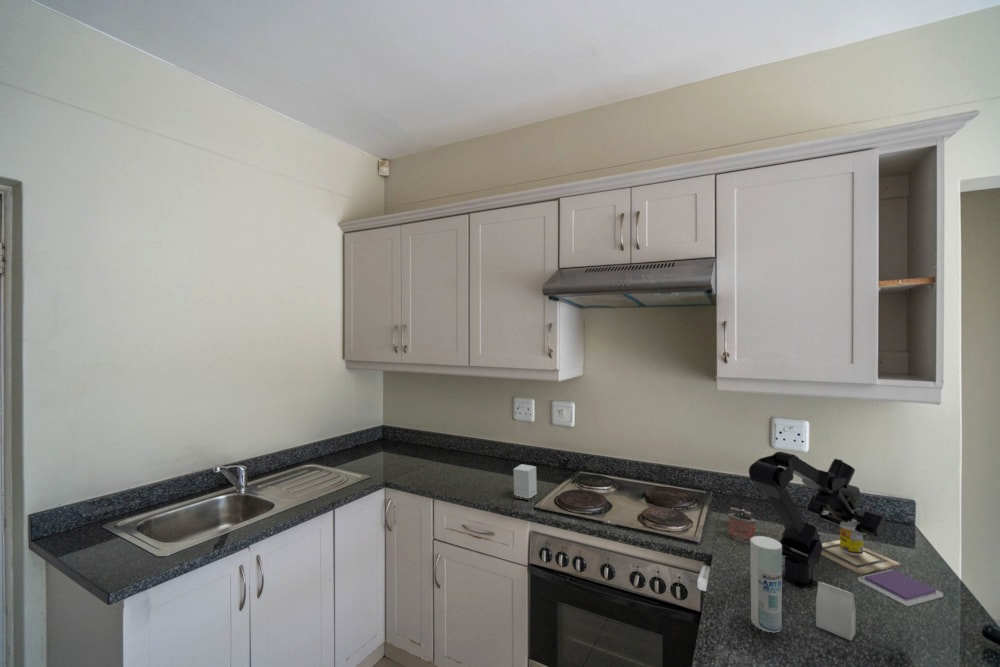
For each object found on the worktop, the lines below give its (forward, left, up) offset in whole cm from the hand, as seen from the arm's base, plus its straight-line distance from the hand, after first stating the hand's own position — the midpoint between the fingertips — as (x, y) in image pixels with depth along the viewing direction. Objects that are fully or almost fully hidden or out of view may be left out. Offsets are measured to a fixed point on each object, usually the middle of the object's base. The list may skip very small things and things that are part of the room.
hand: (854, 529), depth 138 cm
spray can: (-52, -17, -8) cm, 56 cm away
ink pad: (-6, -16, -8) cm, 19 cm away
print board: (-1, 0, -8) cm, 8 cm away
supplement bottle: (-2, 0, -7) cm, 7 cm away
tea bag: (-38, -23, -8) cm, 45 cm away
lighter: (-24, +19, -8) cm, 32 cm away
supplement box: (-80, +76, -8) cm, 111 cm away
